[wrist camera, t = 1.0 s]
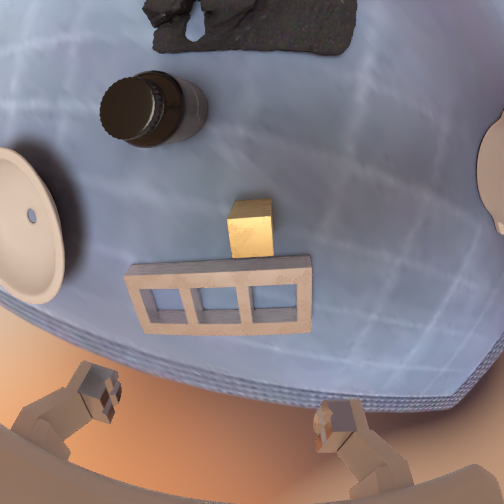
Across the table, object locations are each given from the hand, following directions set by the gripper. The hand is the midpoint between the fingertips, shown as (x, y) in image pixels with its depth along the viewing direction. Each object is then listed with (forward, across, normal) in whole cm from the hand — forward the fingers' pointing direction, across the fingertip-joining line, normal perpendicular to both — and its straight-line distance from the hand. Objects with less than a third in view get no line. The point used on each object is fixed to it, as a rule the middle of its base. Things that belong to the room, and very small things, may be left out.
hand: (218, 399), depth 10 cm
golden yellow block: (+24, -1, 0) cm, 25 cm away
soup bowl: (+26, +33, +5) cm, 42 cm away
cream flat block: (+25, +2, +12) cm, 28 cm away
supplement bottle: (+25, +9, -10) cm, 28 cm away
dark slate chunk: (+24, +3, -24) cm, 35 cm away
